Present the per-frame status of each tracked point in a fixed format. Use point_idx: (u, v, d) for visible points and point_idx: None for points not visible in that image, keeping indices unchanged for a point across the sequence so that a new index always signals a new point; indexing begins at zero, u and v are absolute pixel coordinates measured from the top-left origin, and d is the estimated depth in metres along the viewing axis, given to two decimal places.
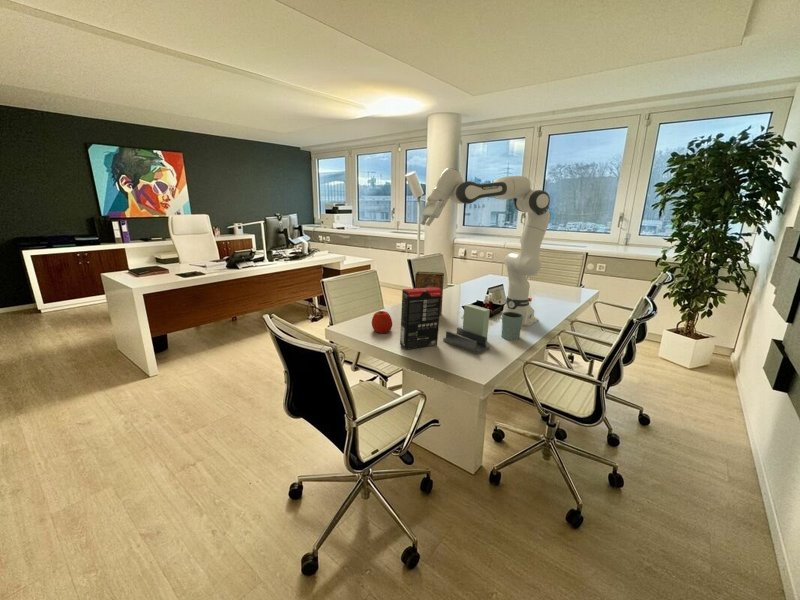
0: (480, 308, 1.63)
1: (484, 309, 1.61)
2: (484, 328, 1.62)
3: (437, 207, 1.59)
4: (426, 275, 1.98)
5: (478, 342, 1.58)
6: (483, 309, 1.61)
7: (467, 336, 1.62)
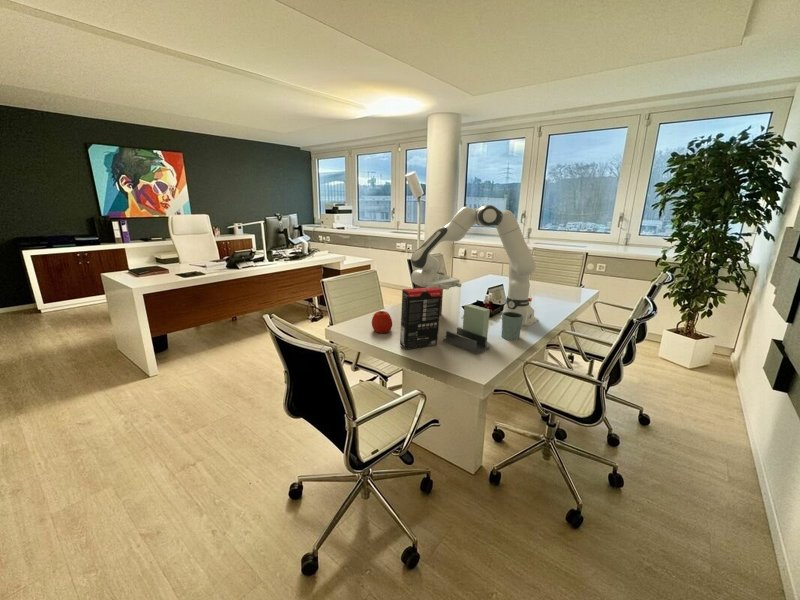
0: (480, 308, 1.63)
1: (484, 309, 1.61)
2: (484, 328, 1.62)
3: (428, 287, 1.74)
4: None
5: (478, 342, 1.58)
6: (483, 309, 1.61)
7: (467, 336, 1.62)
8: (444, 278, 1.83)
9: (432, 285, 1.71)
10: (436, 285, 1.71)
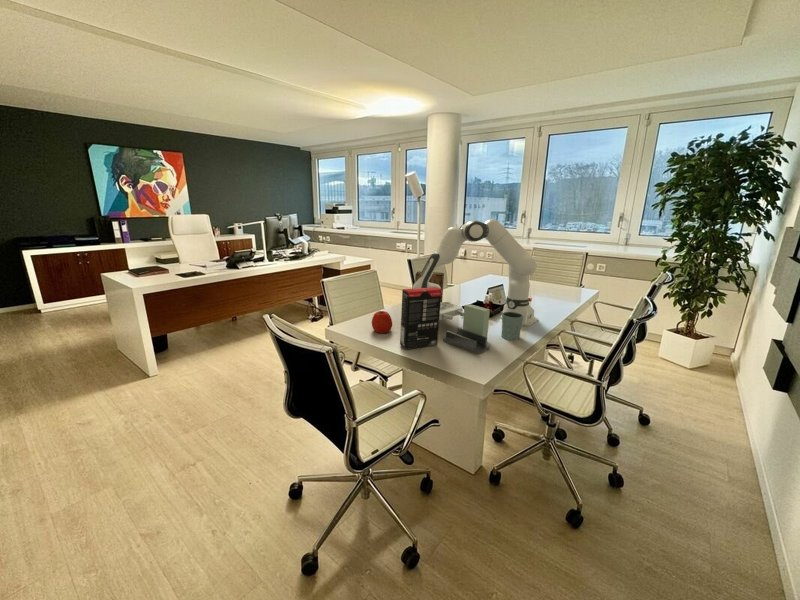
0: (480, 308, 1.63)
1: (484, 309, 1.61)
2: (484, 328, 1.62)
3: None
4: None
5: (478, 342, 1.58)
6: (483, 309, 1.61)
7: (467, 336, 1.62)
8: (447, 306, 1.84)
9: None
10: (439, 315, 1.73)
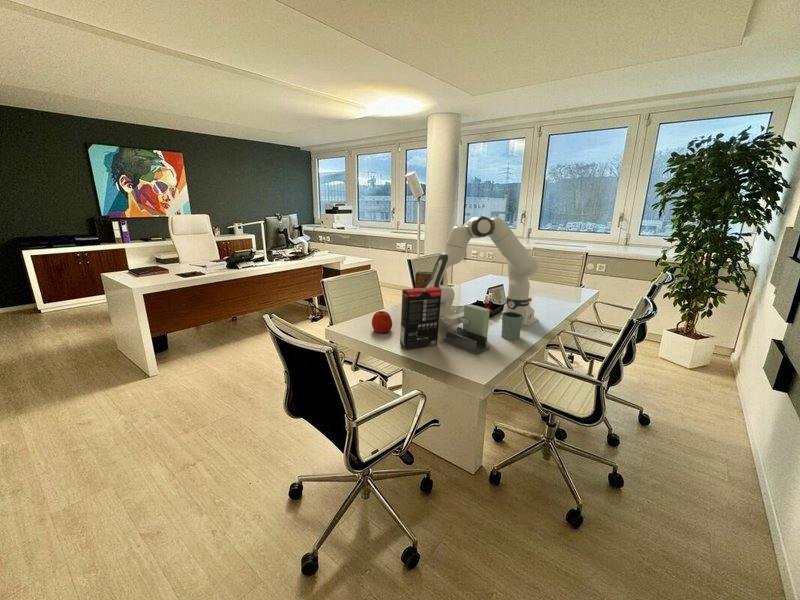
0: (480, 308, 1.63)
1: (484, 309, 1.61)
2: (484, 328, 1.62)
3: (446, 322, 1.68)
4: (426, 275, 1.98)
5: (478, 342, 1.58)
6: (483, 309, 1.61)
7: (467, 336, 1.62)
8: (461, 310, 1.77)
9: (450, 320, 1.65)
10: (454, 320, 1.65)
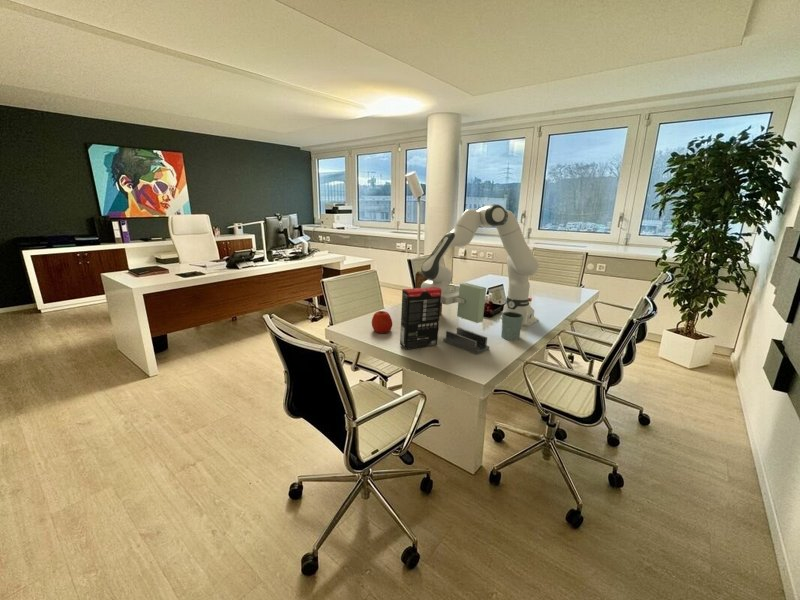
0: (476, 286, 1.55)
1: (480, 287, 1.53)
2: (480, 307, 1.54)
3: None
4: None
5: (478, 342, 1.58)
6: (479, 287, 1.53)
7: (467, 336, 1.62)
8: (457, 290, 1.69)
9: (444, 299, 1.57)
10: (449, 299, 1.57)
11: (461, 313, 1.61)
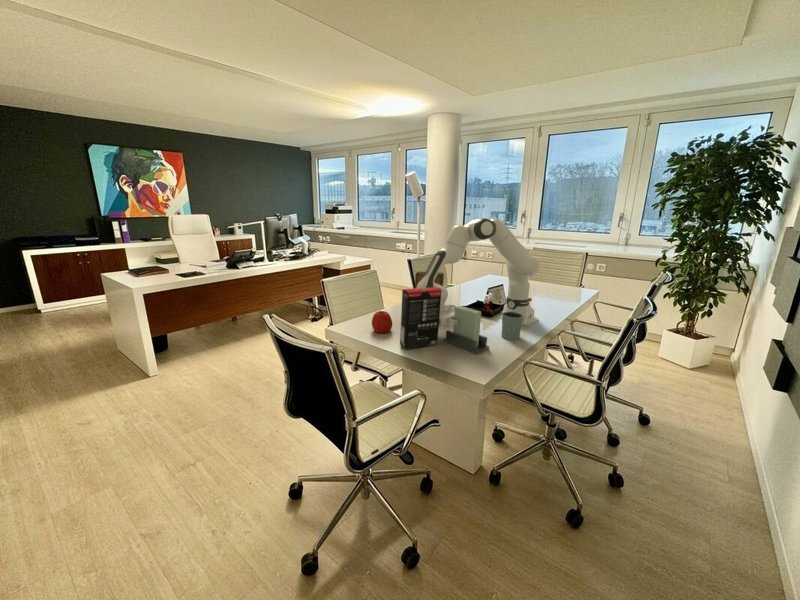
0: (471, 310, 1.54)
1: (475, 311, 1.52)
2: (475, 331, 1.53)
3: None
4: None
5: None
6: (474, 311, 1.52)
7: None
8: (452, 310, 1.68)
9: (440, 320, 1.56)
10: (444, 320, 1.56)
11: None
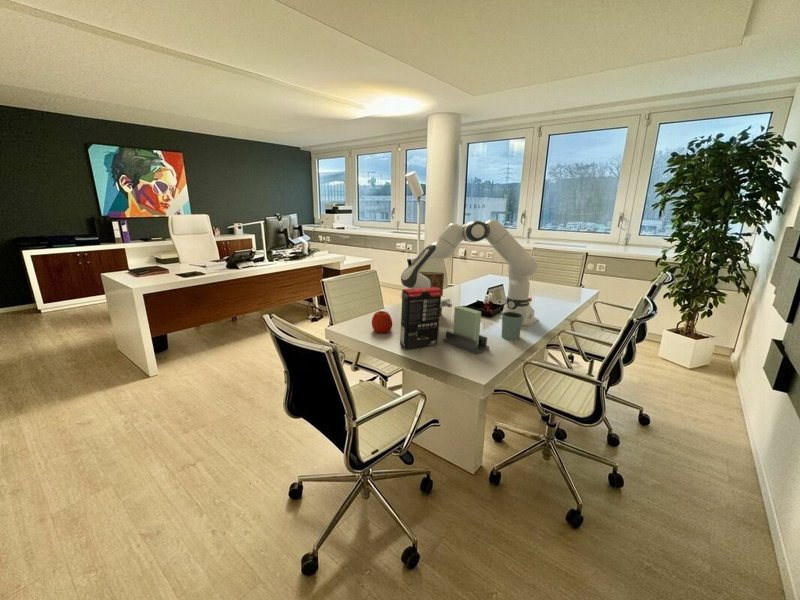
0: (471, 310, 1.54)
1: (475, 311, 1.52)
2: (475, 331, 1.53)
3: None
4: (426, 275, 1.98)
5: None
6: (474, 311, 1.52)
7: None
8: None
9: None
10: None
11: None
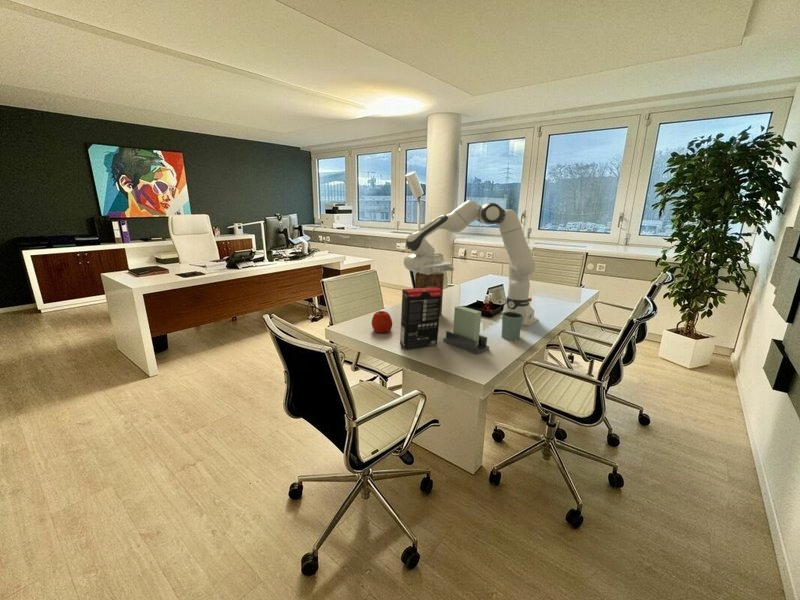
0: (471, 310, 1.54)
1: (475, 311, 1.52)
2: (475, 331, 1.53)
3: (420, 271, 1.71)
4: (426, 275, 1.98)
5: None
6: (474, 311, 1.52)
7: None
8: (436, 262, 1.80)
9: (424, 268, 1.68)
10: (428, 268, 1.68)
11: None
